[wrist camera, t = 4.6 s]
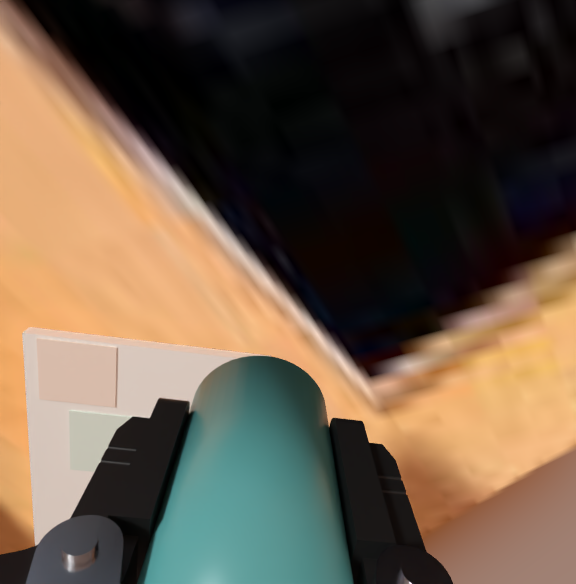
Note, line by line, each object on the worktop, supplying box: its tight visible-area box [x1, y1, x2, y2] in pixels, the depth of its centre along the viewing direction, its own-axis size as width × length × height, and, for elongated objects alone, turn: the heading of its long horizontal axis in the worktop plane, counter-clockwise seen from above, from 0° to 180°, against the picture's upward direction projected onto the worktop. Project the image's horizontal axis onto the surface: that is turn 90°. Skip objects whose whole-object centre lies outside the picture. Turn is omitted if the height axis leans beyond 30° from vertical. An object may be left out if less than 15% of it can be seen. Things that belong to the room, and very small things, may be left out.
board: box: [22, 327, 271, 546], centre depth 29 cm, size 14×19×2 cm
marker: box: [137, 356, 354, 584], centre depth 9 cm, size 4×4×8 cm
